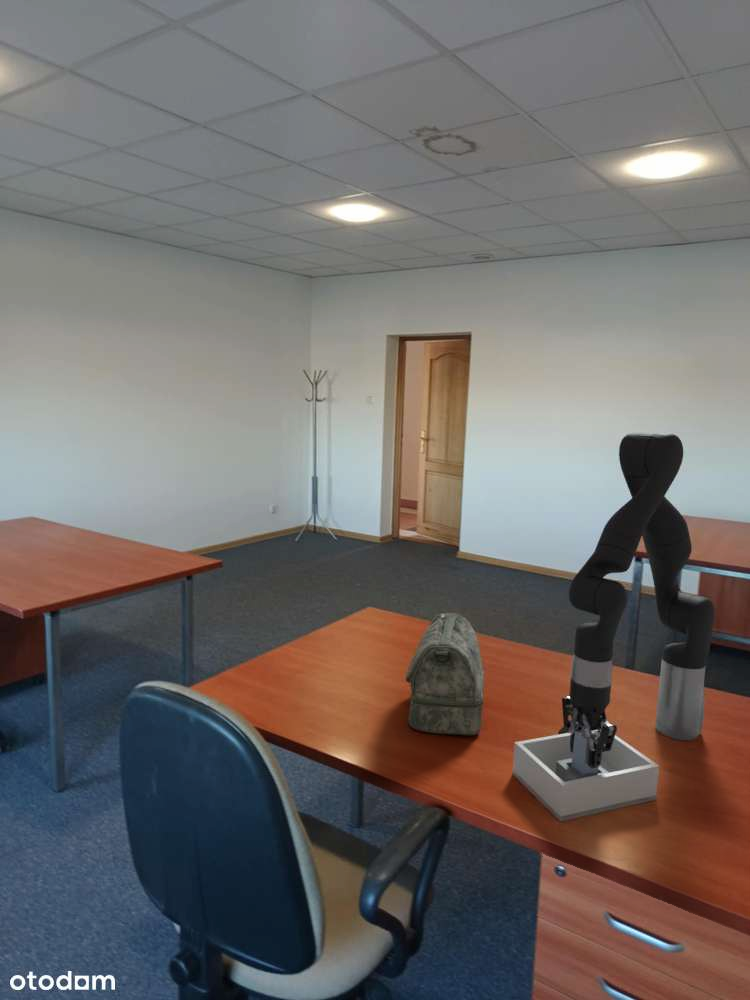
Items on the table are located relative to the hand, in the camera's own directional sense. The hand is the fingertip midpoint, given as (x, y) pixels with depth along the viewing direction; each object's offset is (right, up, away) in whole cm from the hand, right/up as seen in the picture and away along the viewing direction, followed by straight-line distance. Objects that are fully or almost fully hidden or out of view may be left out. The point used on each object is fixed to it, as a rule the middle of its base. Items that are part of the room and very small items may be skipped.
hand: (584, 759), depth 128 cm
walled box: (0, -6, +1) cm, 6 cm away
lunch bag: (-24, -1, +31) cm, 39 cm away
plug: (0, -5, +1) cm, 5 cm away
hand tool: (+4, -4, +20) cm, 20 cm away
